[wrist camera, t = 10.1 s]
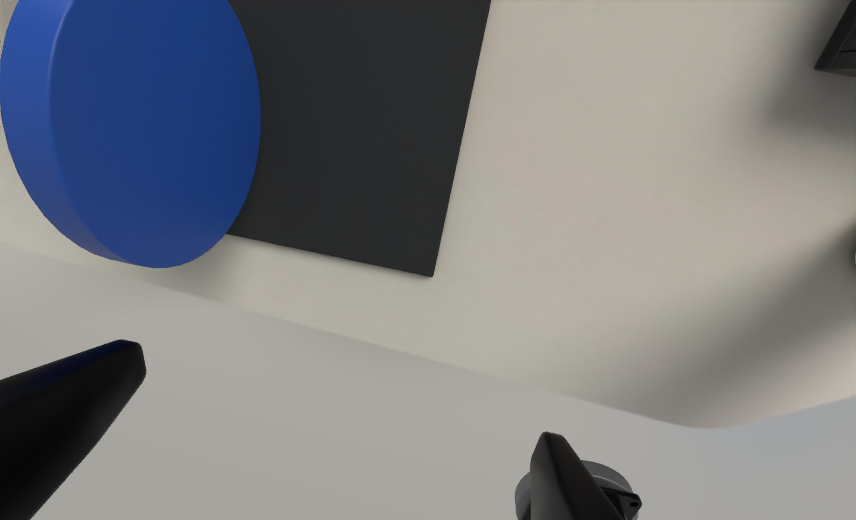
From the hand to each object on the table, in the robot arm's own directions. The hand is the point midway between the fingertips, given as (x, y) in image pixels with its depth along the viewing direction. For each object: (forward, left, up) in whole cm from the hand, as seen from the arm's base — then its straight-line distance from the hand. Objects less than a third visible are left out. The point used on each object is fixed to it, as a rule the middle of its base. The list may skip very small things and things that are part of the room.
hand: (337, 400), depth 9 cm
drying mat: (+3, +9, -13) cm, 16 cm away
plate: (+3, +8, -12) cm, 15 cm away
